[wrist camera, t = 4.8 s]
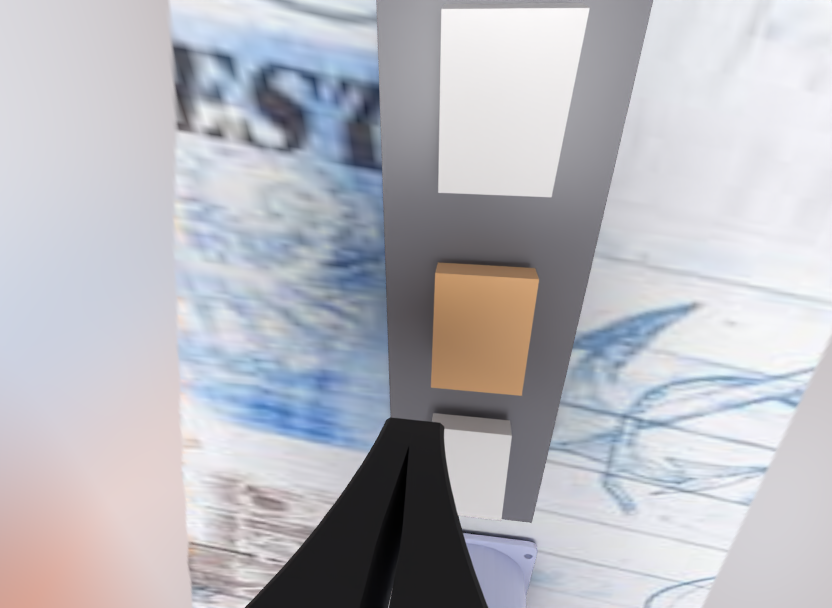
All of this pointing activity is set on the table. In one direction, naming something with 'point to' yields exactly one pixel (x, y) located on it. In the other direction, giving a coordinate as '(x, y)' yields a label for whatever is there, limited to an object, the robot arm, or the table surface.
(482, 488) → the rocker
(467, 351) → the peach rectangular tile
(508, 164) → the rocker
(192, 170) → the table surface
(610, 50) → the power strip
